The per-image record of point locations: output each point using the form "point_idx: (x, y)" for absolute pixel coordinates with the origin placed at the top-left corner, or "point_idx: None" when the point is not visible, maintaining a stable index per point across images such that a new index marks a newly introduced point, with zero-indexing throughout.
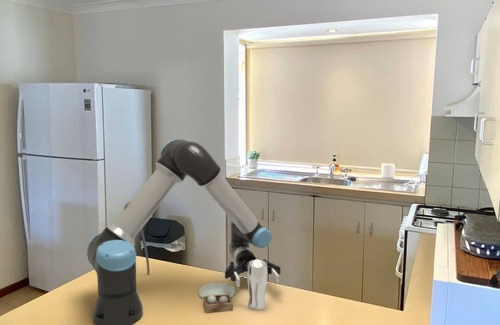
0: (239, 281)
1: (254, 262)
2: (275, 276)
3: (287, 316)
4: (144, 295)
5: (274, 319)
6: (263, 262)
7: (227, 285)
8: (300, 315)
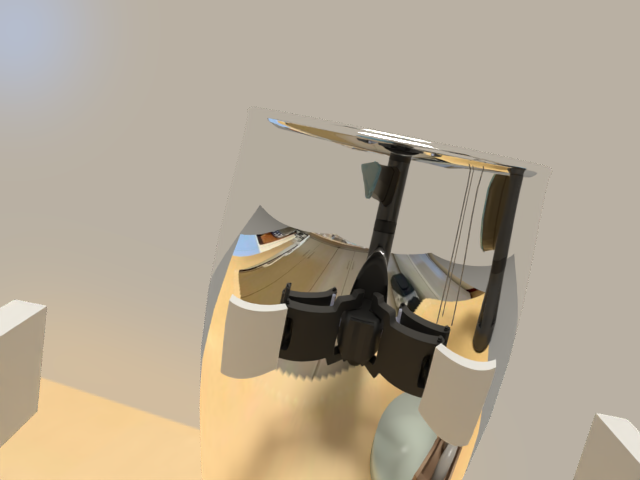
0: (590, 442)
1: (417, 195)
2: (4, 367)
3: (117, 439)
4: None
5: None
6: (268, 139)
7: None
8: None
